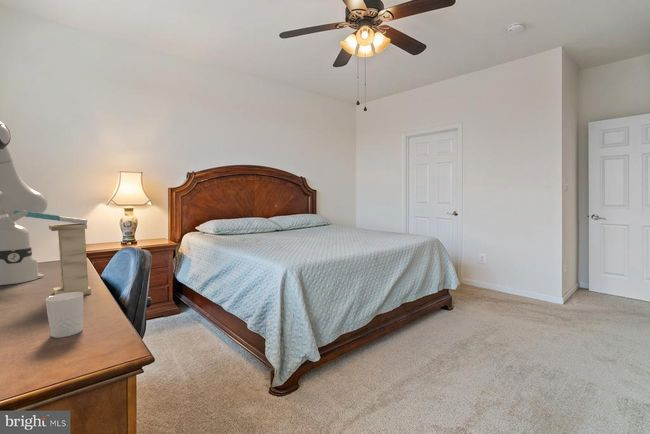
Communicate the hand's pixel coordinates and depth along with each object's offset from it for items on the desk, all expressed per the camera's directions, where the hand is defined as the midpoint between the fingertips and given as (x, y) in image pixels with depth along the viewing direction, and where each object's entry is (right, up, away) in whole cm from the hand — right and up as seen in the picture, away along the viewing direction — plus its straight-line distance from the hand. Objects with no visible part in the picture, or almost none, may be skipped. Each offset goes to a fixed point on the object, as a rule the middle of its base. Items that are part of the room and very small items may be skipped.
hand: (26, 211), depth 114 cm
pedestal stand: (+8, -31, +10) cm, 33 cm away
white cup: (+35, -33, -26) cm, 54 cm away
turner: (+5, -3, +5) cm, 7 cm away
